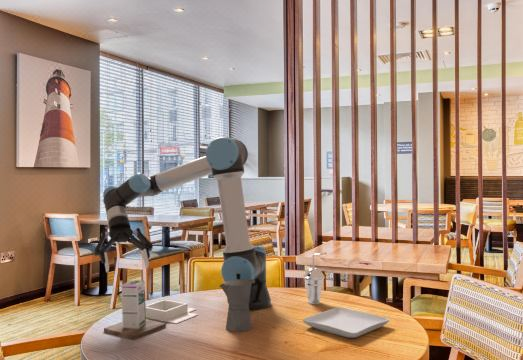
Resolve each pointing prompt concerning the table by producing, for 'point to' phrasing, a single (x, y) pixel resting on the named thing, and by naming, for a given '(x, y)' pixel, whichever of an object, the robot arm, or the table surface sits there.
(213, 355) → the table surface
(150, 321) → the walnut board
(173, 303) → the open carton
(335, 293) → the table surface
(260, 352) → the table surface
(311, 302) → the cup with straw
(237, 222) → the robot arm
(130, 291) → the syrup box
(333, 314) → the salad plate
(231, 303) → the coffeepot
